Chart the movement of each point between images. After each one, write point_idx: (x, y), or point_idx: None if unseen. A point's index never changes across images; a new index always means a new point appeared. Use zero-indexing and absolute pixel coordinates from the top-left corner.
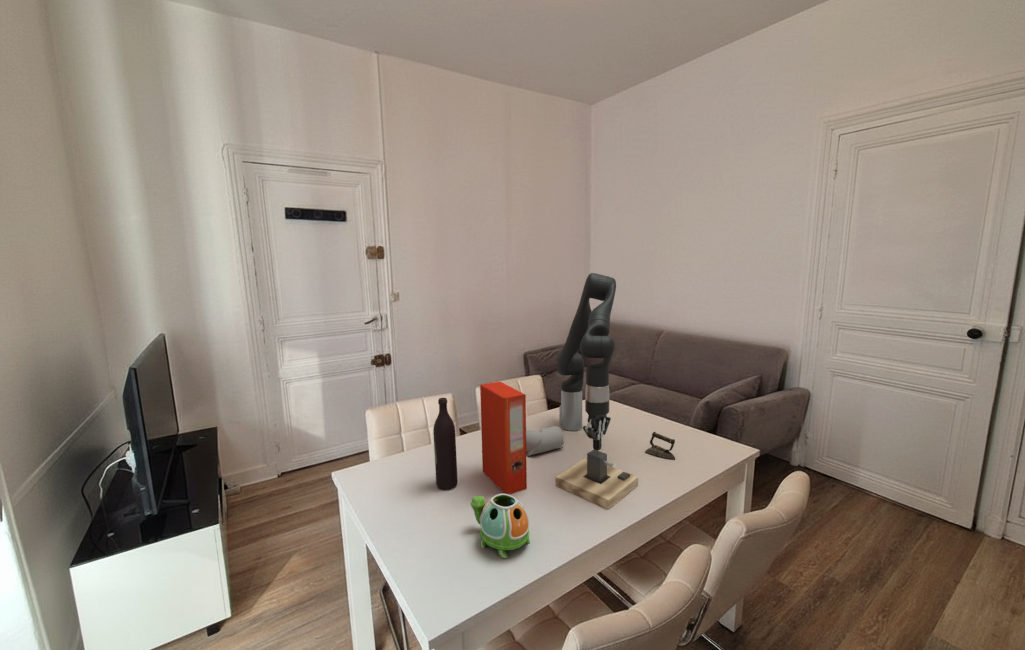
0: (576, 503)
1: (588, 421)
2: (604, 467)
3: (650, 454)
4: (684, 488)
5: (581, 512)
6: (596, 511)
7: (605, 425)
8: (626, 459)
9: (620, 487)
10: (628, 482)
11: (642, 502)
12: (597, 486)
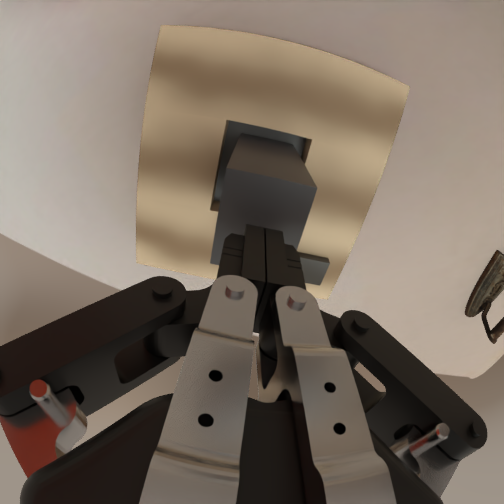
0: (113, 153)
1: (28, 488)
2: None
3: (488, 265)
4: None
5: (89, 188)
6: (118, 220)
7: (368, 426)
8: (466, 213)
9: None
10: None
11: None
12: (186, 205)
